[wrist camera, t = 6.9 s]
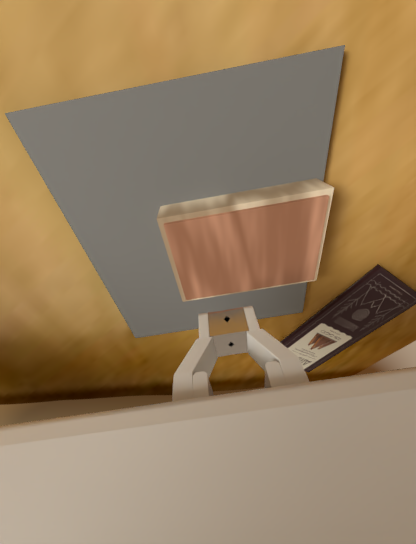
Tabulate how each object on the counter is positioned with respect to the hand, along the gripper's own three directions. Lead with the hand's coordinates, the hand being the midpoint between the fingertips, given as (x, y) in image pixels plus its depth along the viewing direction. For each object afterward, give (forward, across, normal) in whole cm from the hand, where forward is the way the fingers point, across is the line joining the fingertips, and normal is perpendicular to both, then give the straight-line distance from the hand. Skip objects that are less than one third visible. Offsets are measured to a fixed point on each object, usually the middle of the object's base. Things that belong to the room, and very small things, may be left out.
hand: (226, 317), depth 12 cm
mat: (+9, +1, 0) cm, 9 cm away
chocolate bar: (+10, -14, +16) cm, 23 cm away
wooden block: (+7, +4, 0) cm, 8 cm away
